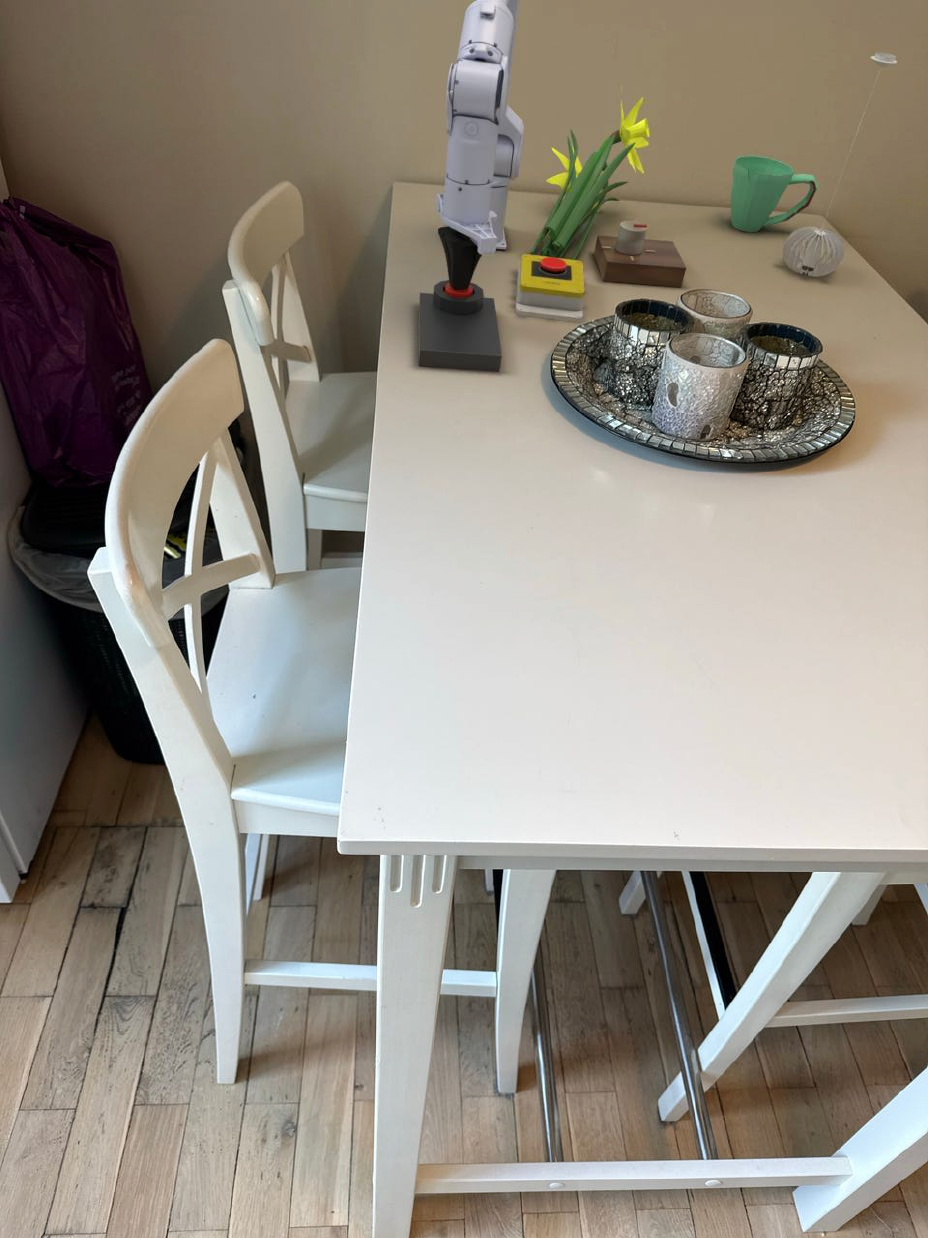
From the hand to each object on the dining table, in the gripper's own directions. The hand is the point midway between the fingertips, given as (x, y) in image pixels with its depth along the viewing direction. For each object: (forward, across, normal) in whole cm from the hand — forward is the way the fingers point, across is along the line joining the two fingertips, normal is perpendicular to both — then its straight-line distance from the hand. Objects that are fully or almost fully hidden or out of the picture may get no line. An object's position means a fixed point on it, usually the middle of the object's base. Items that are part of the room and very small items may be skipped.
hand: (459, 287), depth 115 cm
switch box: (+4, -5, +2) cm, 7 cm away
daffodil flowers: (+4, +24, -32) cm, 41 cm away
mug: (+4, +21, -66) cm, 70 cm away
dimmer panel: (+4, +9, -34) cm, 36 cm away
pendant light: (+4, +4, -63) cm, 63 cm away
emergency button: (+4, +4, -16) cm, 17 cm away
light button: (+2, 0, 0) cm, 2 cm away
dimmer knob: (+1, +10, -32) cm, 34 cm away
